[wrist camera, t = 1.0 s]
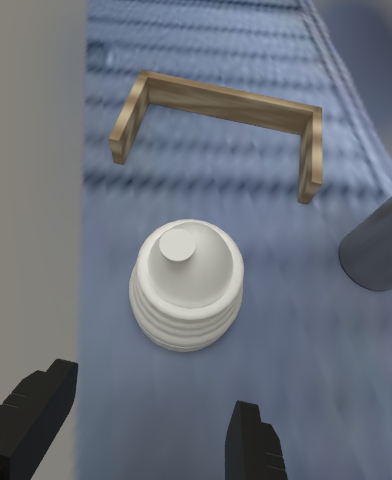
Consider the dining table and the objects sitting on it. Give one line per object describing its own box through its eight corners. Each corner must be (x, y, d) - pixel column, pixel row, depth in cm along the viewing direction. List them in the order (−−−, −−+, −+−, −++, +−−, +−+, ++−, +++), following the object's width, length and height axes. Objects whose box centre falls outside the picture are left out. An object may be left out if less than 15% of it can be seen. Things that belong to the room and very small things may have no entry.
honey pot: (181, 377, 34) (193, 361, 18) (112, 295, 37) (70, 220, 21) (254, 302, 38) (316, 236, 22) (187, 235, 42) (199, 138, 26)
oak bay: (307, 204, 46) (322, 184, 42) (114, 162, 47) (108, 138, 42) (309, 131, 54) (322, 107, 50) (143, 96, 55) (141, 69, 50)
